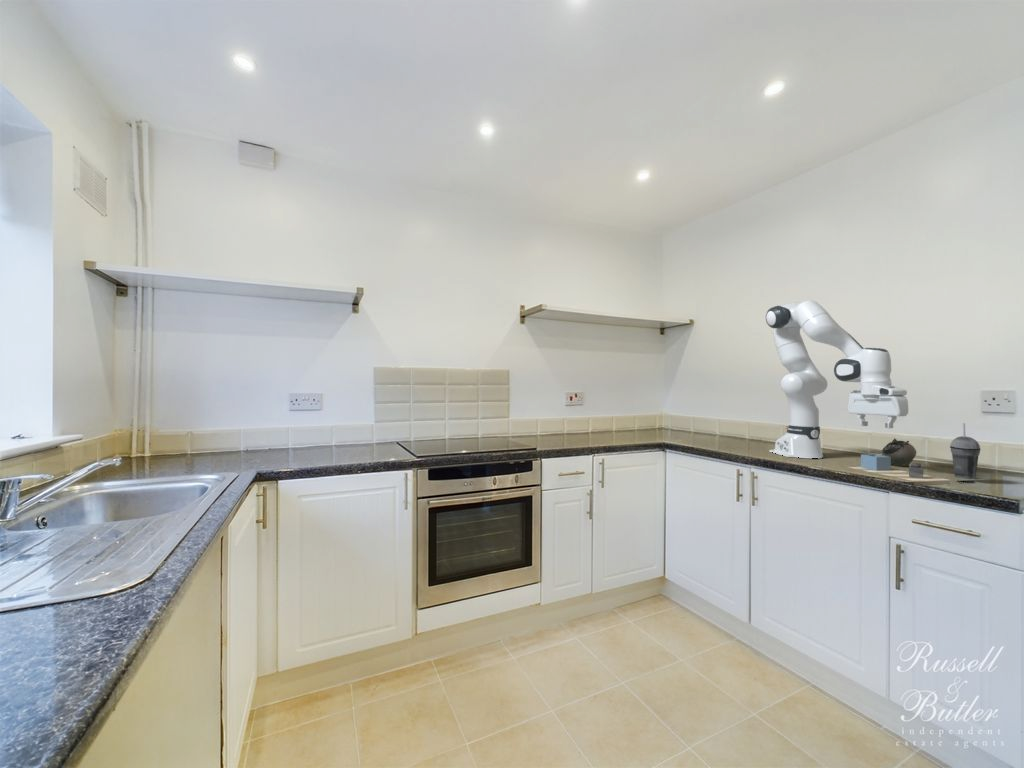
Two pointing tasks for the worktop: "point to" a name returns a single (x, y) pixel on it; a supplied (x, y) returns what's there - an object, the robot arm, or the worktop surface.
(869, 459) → the collar
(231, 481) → the worktop surface
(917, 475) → the assembly board
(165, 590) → the worktop surface
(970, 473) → the beverage cup
